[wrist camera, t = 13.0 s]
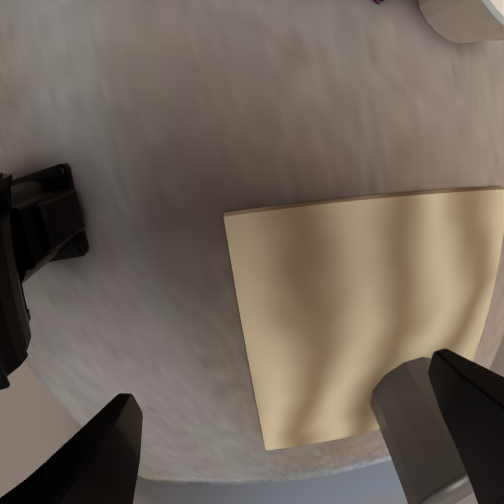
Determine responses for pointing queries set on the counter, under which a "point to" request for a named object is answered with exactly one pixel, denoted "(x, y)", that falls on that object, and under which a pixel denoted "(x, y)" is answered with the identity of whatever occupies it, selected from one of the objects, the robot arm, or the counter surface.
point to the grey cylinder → (419, 436)
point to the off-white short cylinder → (465, 19)
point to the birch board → (357, 298)
